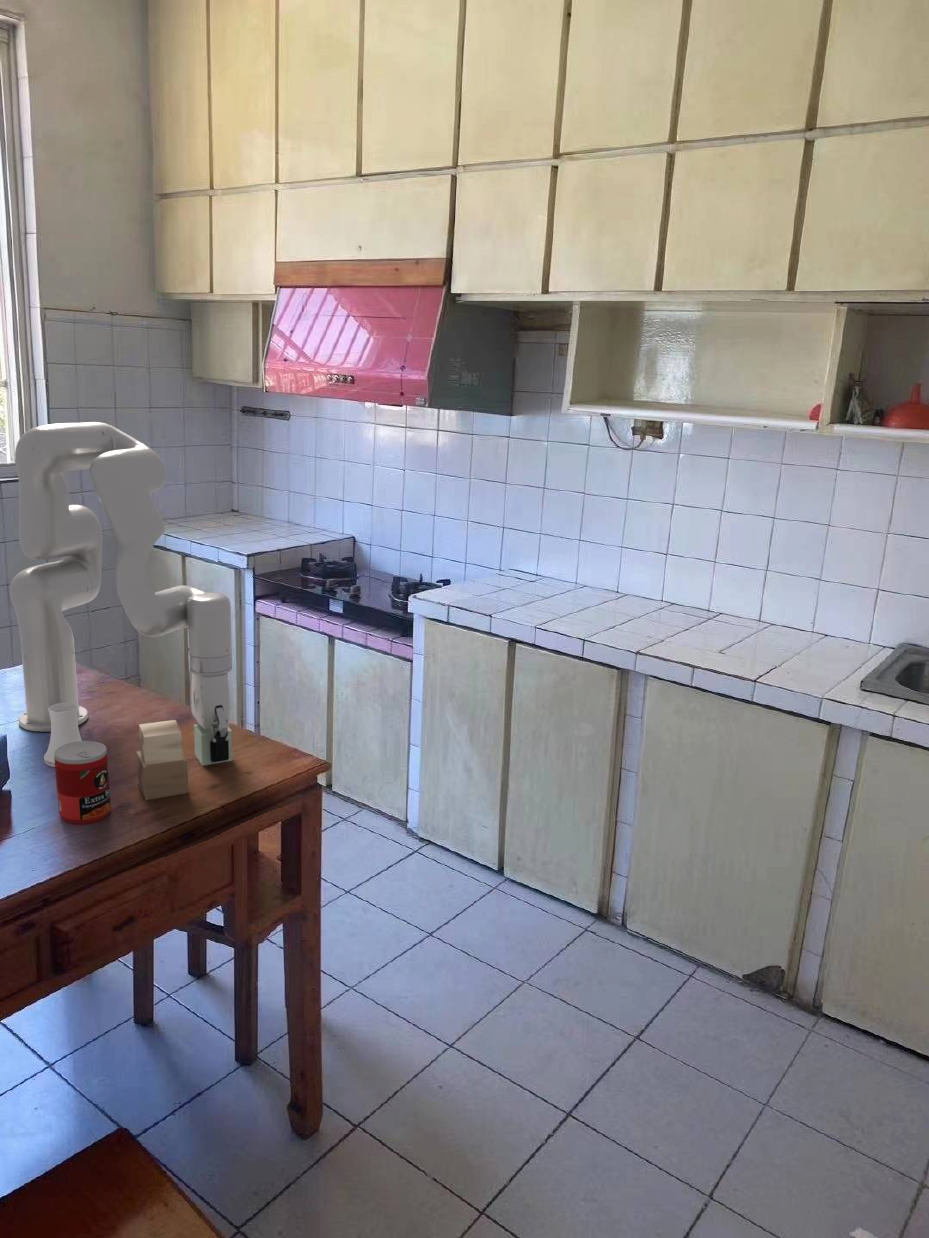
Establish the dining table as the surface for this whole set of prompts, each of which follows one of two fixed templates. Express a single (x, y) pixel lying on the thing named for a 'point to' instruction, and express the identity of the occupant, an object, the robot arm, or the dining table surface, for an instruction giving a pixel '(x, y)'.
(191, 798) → the dining table surface
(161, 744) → the beech block
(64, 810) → the canned food
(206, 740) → the sage block
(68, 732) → the vase
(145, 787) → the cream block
